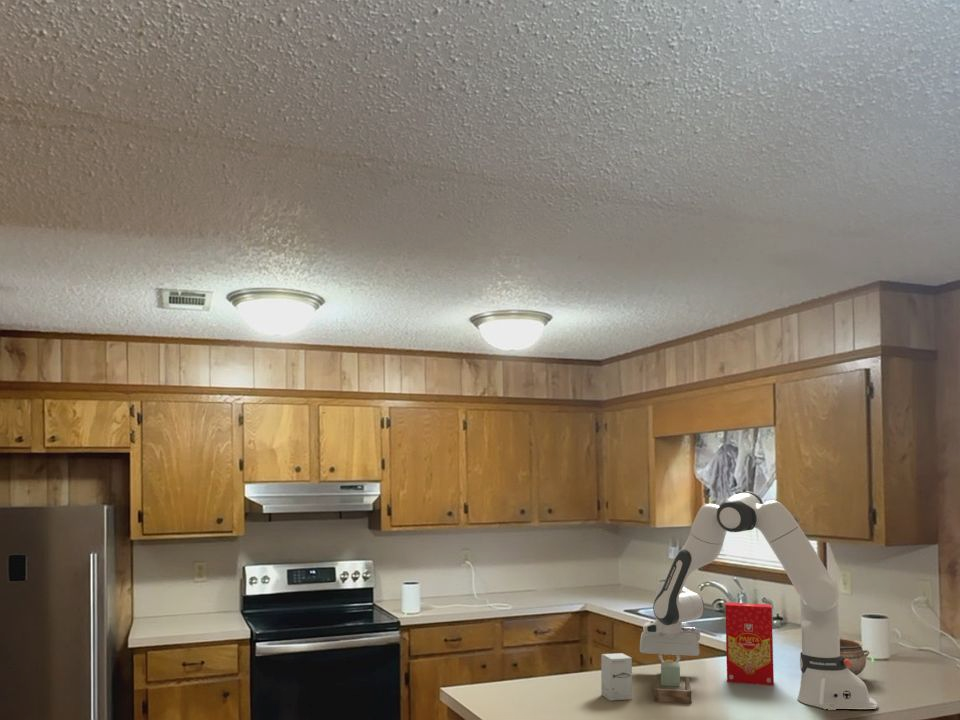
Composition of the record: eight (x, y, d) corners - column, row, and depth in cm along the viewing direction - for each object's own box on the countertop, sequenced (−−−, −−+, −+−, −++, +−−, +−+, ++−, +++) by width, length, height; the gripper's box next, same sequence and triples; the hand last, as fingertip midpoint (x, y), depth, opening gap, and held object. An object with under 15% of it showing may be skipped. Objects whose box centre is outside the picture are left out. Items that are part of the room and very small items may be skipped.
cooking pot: (851, 670, 310) (850, 634, 312) (887, 684, 292) (885, 646, 293) (787, 673, 305) (786, 637, 307) (819, 688, 287) (817, 649, 288)
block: (678, 673, 304) (678, 655, 305) (680, 686, 288) (679, 667, 289) (660, 672, 306) (660, 654, 306) (661, 685, 289) (661, 666, 290)
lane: (689, 689, 284) (688, 678, 285) (691, 703, 269) (691, 691, 269) (654, 687, 286) (653, 676, 287) (654, 701, 271) (654, 689, 271)
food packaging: (727, 681, 294) (725, 604, 296) (727, 678, 299) (725, 602, 301) (773, 685, 290) (771, 607, 292) (773, 681, 295) (771, 604, 297)
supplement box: (610, 701, 270) (610, 658, 271) (600, 695, 277) (600, 653, 278) (632, 699, 272) (632, 657, 273) (622, 693, 279) (622, 652, 280)
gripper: (699, 625, 308) (700, 666, 306) (639, 623, 311) (640, 663, 310) (700, 629, 301) (701, 671, 300) (639, 626, 305) (639, 668, 304)
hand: (669, 667), depth 305 cm, fingers closed on block, 2 cm apart
